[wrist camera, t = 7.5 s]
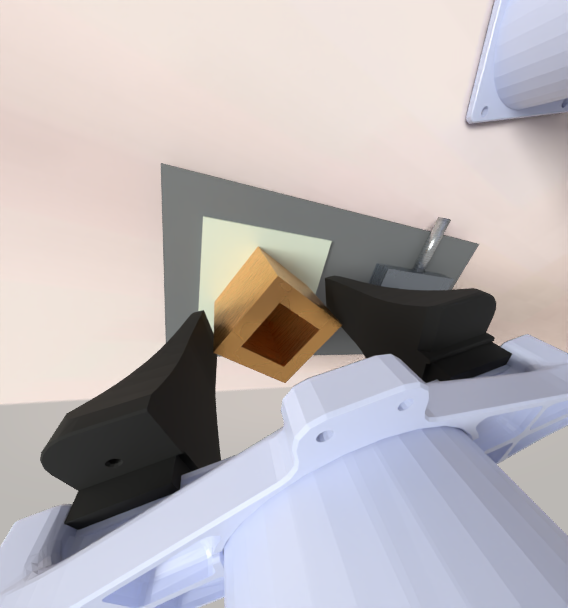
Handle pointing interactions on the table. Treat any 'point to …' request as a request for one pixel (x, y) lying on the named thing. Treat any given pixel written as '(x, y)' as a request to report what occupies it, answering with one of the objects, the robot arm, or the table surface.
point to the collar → (270, 319)
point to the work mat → (277, 244)
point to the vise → (416, 267)
